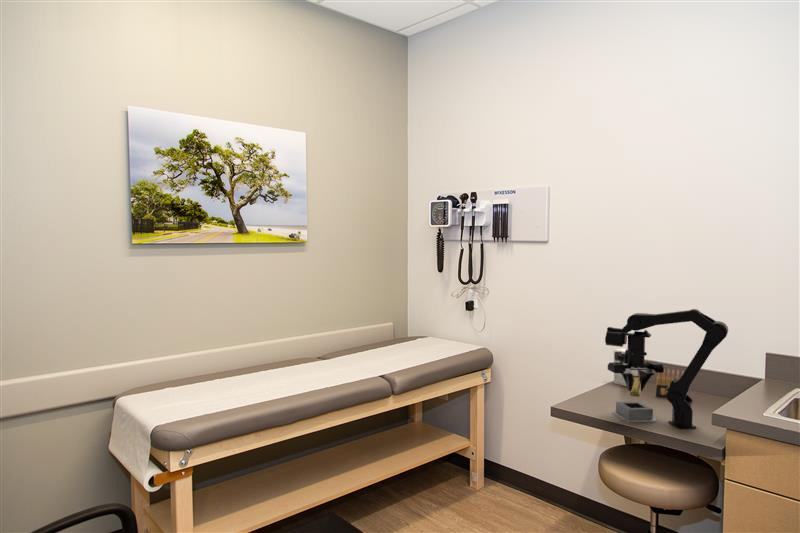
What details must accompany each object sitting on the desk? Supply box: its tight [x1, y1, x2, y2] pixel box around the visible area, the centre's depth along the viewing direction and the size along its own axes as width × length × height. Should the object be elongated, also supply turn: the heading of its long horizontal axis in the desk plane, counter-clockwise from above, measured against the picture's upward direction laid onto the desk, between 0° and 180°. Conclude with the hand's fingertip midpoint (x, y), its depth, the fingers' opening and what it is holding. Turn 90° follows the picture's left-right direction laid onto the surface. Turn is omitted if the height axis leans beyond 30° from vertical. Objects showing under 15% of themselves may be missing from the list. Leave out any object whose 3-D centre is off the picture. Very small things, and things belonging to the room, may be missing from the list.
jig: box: [611, 401, 658, 423], centre depth 193 cm, size 11×11×4 cm
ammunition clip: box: [655, 368, 685, 399], centre depth 217 cm, size 11×2×12 cm, turn 62°
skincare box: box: [613, 347, 639, 387], centre depth 237 cm, size 8×7×16 cm
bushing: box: [628, 374, 642, 398], centre depth 192 cm, size 4×4×7 cm
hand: (635, 390), depth 192 cm, fingers closed on bushing, 4 cm apart
